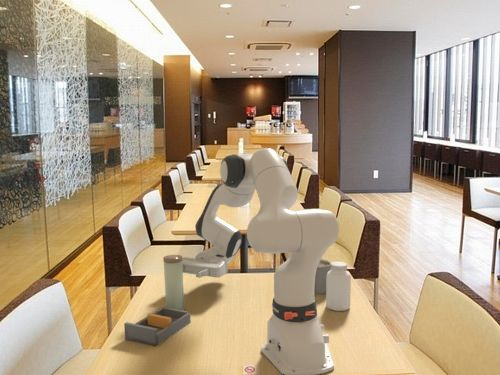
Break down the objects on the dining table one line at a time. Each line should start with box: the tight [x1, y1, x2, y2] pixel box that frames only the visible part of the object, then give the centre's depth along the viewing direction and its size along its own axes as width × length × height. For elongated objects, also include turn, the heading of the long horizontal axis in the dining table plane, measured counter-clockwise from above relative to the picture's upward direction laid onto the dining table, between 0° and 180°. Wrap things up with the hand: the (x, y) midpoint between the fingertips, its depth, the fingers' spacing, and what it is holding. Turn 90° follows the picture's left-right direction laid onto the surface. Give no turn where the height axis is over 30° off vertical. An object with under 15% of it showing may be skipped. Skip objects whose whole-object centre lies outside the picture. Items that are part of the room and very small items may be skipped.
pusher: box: [146, 313, 171, 328], centre depth 157 cm, size 1×8×3 cm, turn 64°
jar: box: [162, 254, 185, 311], centre depth 172 cm, size 6×6×18 cm
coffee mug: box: [314, 258, 332, 295], centre depth 188 cm, size 13×10×10 cm
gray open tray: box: [123, 306, 191, 347], centre depth 156 cm, size 18×11×5 cm, turn 154°
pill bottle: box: [325, 261, 352, 312], centre depth 171 cm, size 8×8×15 cm
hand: (186, 273), depth 178 cm, fingers open, 8 cm apart
